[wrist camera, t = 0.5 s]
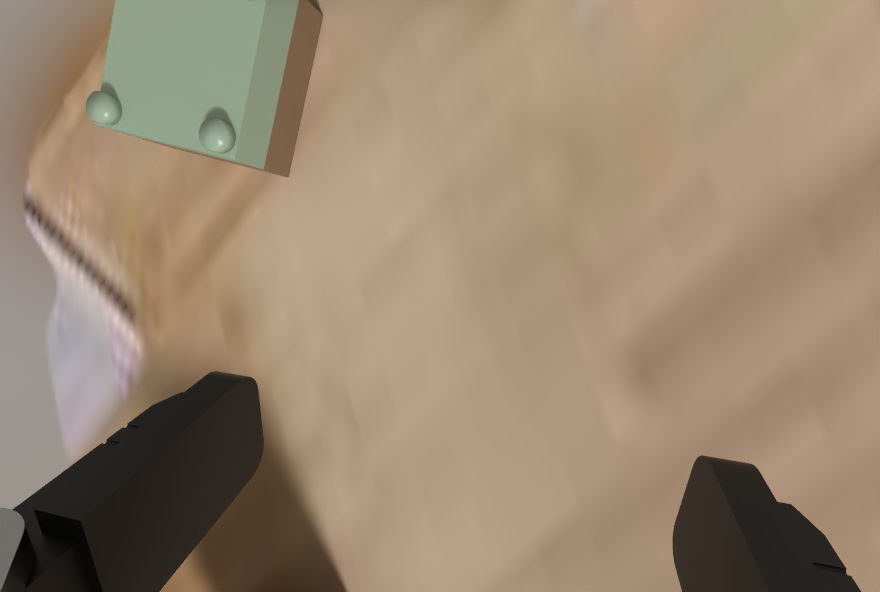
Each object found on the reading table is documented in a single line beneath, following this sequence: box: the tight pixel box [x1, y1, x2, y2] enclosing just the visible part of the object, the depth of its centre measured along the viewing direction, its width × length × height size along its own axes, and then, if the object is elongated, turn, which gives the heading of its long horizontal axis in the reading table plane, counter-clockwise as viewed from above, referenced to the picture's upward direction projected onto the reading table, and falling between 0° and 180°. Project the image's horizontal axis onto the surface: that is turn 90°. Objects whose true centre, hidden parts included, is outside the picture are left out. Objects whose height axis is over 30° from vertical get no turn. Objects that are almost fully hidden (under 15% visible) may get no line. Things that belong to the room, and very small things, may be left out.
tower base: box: [86, 0, 323, 177], centre depth 34 cm, size 12×12×7 cm
